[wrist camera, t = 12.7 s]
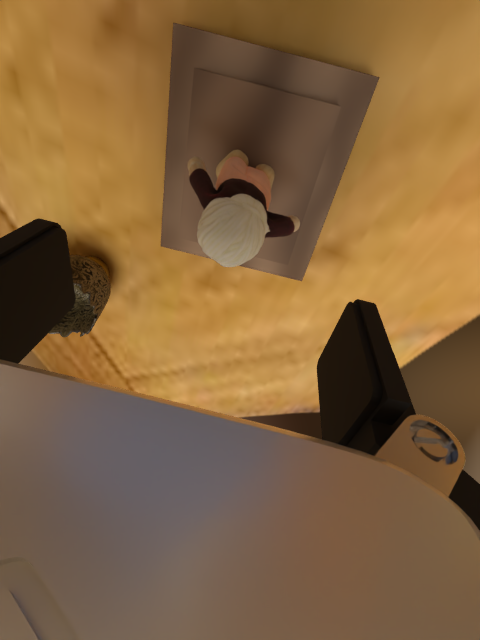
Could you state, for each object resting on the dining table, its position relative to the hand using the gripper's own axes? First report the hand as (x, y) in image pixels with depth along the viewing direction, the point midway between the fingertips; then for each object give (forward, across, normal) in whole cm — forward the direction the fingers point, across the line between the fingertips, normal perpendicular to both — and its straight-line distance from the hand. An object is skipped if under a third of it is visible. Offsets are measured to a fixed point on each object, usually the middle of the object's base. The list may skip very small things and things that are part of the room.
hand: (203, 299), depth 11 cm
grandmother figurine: (+17, 0, 0) cm, 17 cm away
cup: (+21, +16, +14) cm, 30 cm away
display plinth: (+21, 0, 0) cm, 21 cm away
